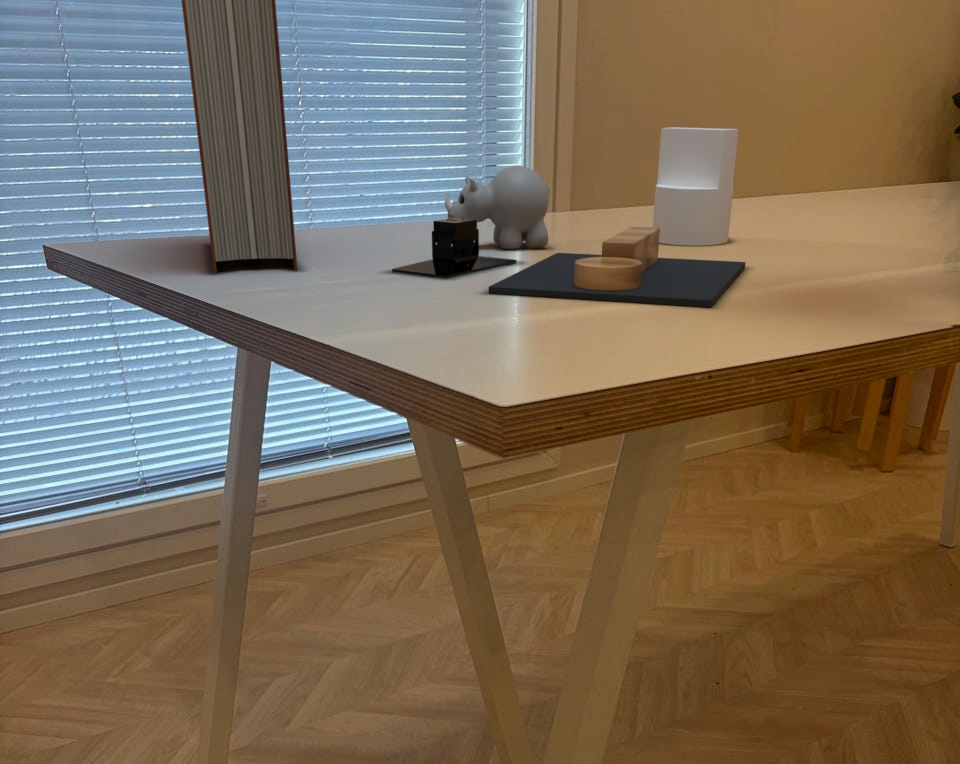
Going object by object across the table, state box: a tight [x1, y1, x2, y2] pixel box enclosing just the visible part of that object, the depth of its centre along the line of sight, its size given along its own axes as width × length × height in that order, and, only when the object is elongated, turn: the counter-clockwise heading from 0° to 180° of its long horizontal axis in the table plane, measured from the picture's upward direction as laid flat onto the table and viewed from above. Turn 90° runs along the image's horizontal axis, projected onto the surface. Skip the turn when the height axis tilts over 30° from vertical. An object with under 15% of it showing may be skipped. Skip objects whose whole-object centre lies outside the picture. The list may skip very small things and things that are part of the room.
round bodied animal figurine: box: [444, 165, 550, 250], centre depth 116 cm, size 7×12×8 cm, turn 100°
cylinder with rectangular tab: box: [652, 126, 740, 246], centre depth 120 cm, size 9×9×12 cm
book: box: [181, 0, 298, 275], centre depth 106 cm, size 23×8×30 cm, turn 14°
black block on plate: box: [391, 218, 517, 280], centre depth 105 cm, size 12×7×5 cm, turn 144°
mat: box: [488, 252, 746, 308], centre depth 99 cm, size 20×22×1 cm
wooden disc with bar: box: [574, 226, 660, 291], centre depth 97 cm, size 18×6×3 cm, turn 160°
